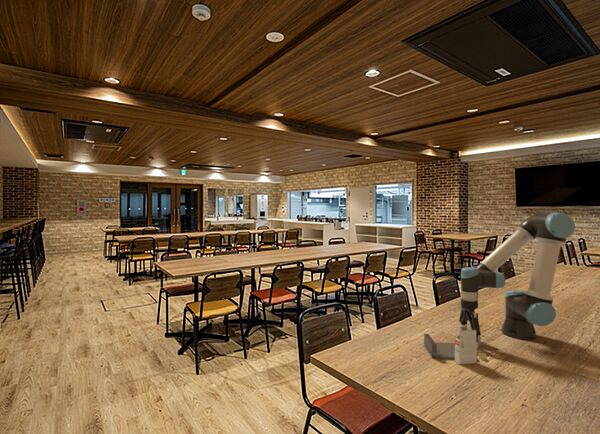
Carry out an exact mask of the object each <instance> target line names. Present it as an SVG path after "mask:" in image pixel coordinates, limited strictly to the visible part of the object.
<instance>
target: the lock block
mask: <svg viewBox="0 0 600 434" xmlns="http://www.w3.org/2000/svg"><path fill="white" fill-rule="evenodd" d="M461 330H471V326H467V327H461V326H458V335H457V339H460V333H459V331H461ZM470 333H471V332H465V333H464V334H470ZM480 333H482V332H481V331H480ZM481 337H482V334H481V335H478V347H482V345H481V344H482V343H481Z"/></svg>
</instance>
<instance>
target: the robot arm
mask: <svg viewBox="0 0 600 434" xmlns="http://www.w3.org/2000/svg"><path fill="white" fill-rule="evenodd" d="M575 228H576V224H575V221H574V219H572V217H571V216H569V214H566V213H563V212H556V211H555V212H553V211H552V212H551V211H550V212H543V211H542V212H536V213H533V214H532V215H531V216H529V217H527V218H526V219H524V221H522V222H521V223H520V224H519V225H517V227H516V228H515V231H514V232H513V233H512V234H511V235H510V236H508V238H506V239H505V240H504V241H503V242H502V243H501V244H500V245H499V246H497V248H495V249H494V250H493V251H492V252H491V253H490V254H489V255H487V257H485V258H484V259H483V260H482V261H480V263H479V264H478V265H475V266H471V267H466V266H465V267H462V268H461V269H460V270H461V271H460V293H459V294H460V298H461V299H460V306H461V308H460V314H459V320H458V322H459V324H460V327H468V322H469V325H470V326H469V327H471V330H476V342H477V344H476V346H477V347H476V350H479V346H478V335H481V336H482V334H481V333H482V332H481V328H480V323H479V322H480V321H479V314H478V313H477V312H476V311H475V310H477V309H478V308H479V301H478V300H479V289H480V288H481V289H482V288H483V289H484V288H486V289H487V288H488V289H501V288H504V287H505V285H506V277H505V275H504V274H503V273H502V272H497V270H498V269H499V268H500V267H501V266H503V264H505V263H506V262H507V261H508V260H509V259H510V258H511V257H513V256H514V255H515V254H516V253H518V251H520V250H521V249H522V248H523V247H524V246H525V245H527V244H528V242H529V241H530V242H531V241H532V242H533V241H534V240H535V239H536V240H537V242H538V244H537V248H536V254H535V258H534V263H533V268H532V270H531V271H532V272H531V276H530V281H529V286H528V289H527V290H522V289H508V290H506V292H505V296H504V297H505V318H504V320H503V324H502V326H501V333H502V334H504V335H505V336H507V337H511V338H513V339H519V340H535V339H536V338H537V332H536V329H535V326H538V327H545V326H548V325H550V324H552V323H553V322H554V321H555V319H556V317H557V311H556V309H555V307H554V306H553V303H554V299H553V297H552V296H551V293H552V288H553V283H554V278H555V274H556V271H557V270H556V269H557V264H558V260H559V255H560V250H561V246H562V245H565V244H566V242H567V238H569V237H571V236H572V235H573V234H574V232H575ZM534 325H535V326H534ZM480 332H481V333H480Z"/></svg>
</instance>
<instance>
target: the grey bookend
mask: <svg viewBox="0 0 600 434" xmlns="http://www.w3.org/2000/svg"><path fill="white" fill-rule="evenodd" d="M423 347H424V348H425V349H426V352H427V353H428V354H429V356H430V357H431V358H432V359H442V360H443V359H449V360H455V342H440V341H439V342H435V340H434V339H433V338H432V337H431V335H430V334H429V333H423Z"/></svg>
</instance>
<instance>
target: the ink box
mask: <svg viewBox="0 0 600 434" xmlns="http://www.w3.org/2000/svg"><path fill="white" fill-rule="evenodd" d="M465 332H471V333H470V334H464V333H465ZM459 333H460V339H458V338H454V343H455V359H454V362H456V363H457V364H458V365H472V364H477V355H476V350H477V349H476V347H477V346H476V344H477V342H476V330H461V331H459V330H458V334H459Z"/></svg>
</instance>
